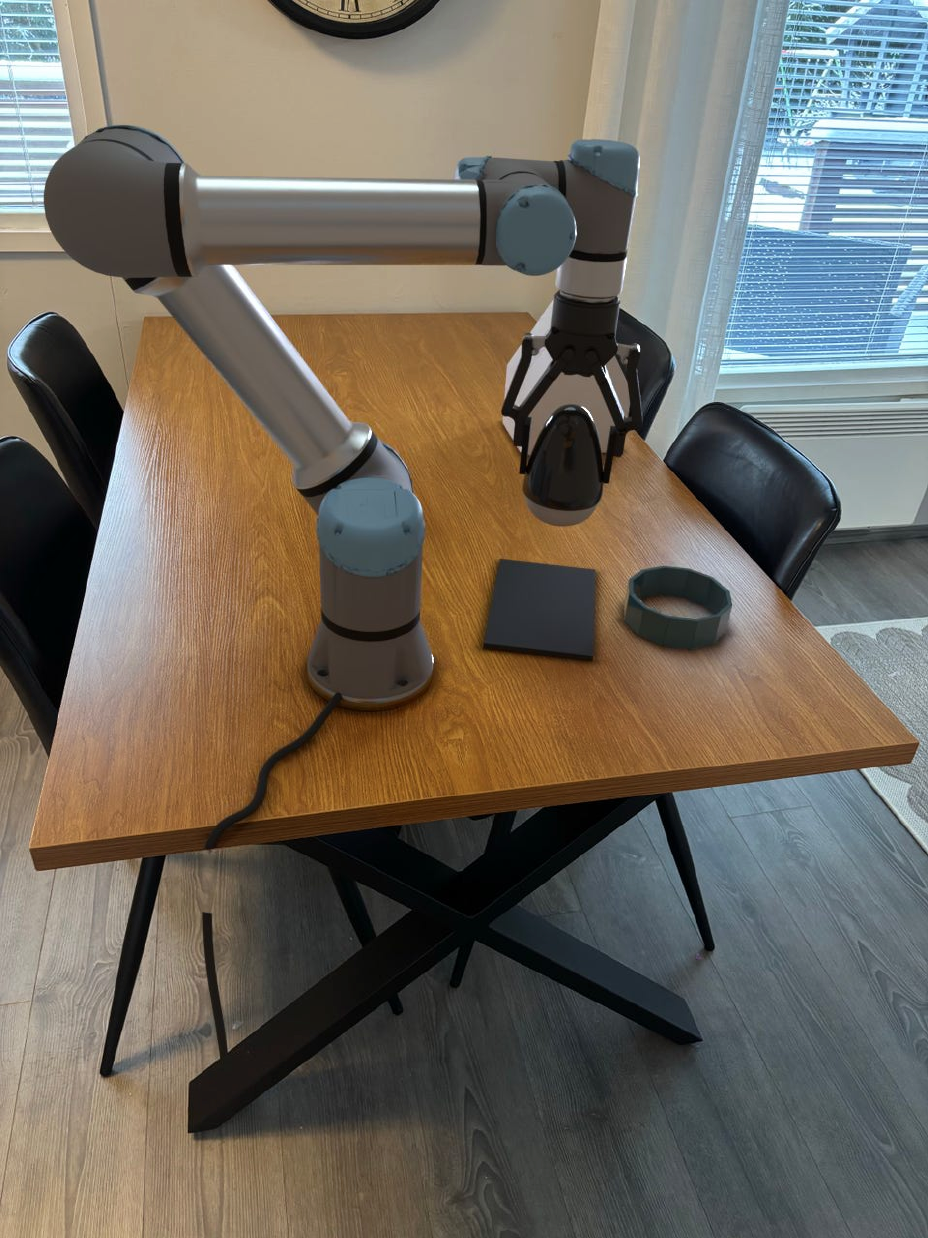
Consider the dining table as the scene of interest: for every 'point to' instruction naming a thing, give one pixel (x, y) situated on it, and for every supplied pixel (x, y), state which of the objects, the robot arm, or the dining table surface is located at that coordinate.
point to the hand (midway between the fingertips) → (564, 474)
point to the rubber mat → (542, 610)
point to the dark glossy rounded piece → (565, 468)
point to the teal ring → (671, 627)
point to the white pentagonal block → (564, 390)
